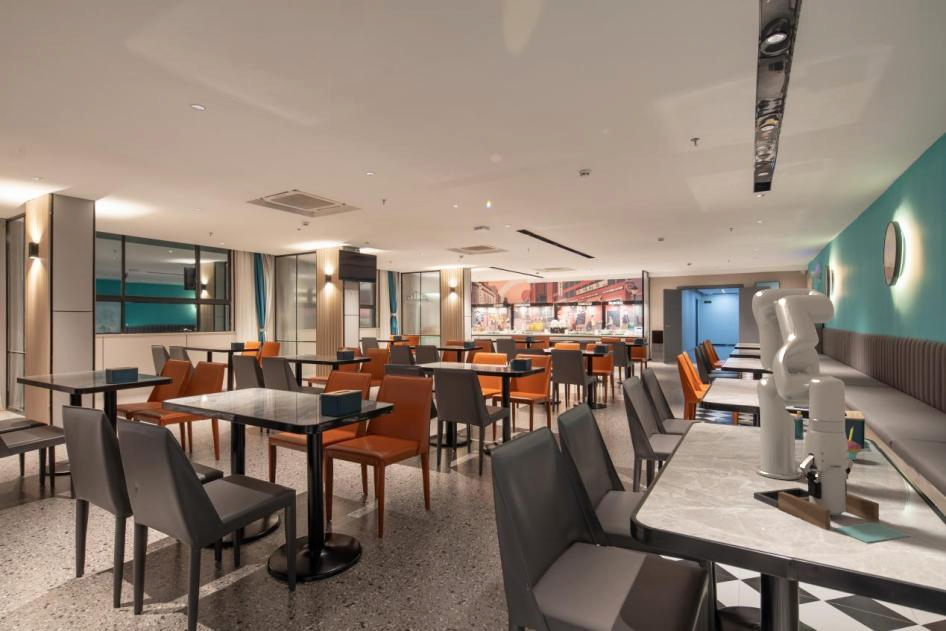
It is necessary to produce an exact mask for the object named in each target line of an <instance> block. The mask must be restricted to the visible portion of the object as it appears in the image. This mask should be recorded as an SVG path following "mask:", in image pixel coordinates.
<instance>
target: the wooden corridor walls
mask: <svg viewBox="0 0 946 631" xmlns="http://www.w3.org/2000/svg"><path fill="white" fill-rule="evenodd" d="M845 503H846V510H845V512H844V513H847V514H850V515H853V516H856V517H858V518H862V519H864V520H866V521H870V522H871V523H874V522H876V523H879V522H880V505H879V503H878V502H875V501H872V500H869V499H866V498H863V497H860V496H857V495H855V494H852V493H848V492H847V495H846V496H845ZM778 510H779V511H781V512H784V513H786V514H788V515H791V516H793V517H796V518H798V519H799V520H802V521H805V522H807V523H809V524H812V525H814V526H816V527H819V528H821V529H824V530H826V531H827V530H831V515H830V510H829V509H826V508H824V507H821V506H819V505H816V504H813V503H811V502H808V501H806V500H803V499H800V498H798V497H795V496H793V495H790V494H787V493H785V492H778Z"/></svg>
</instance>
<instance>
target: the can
mask: <svg viewBox="0 0 946 631" xmlns="http://www.w3.org/2000/svg"><path fill="white" fill-rule="evenodd" d="M841 468H842V466H840V467H836V468H834V467H829V470H828V471H827V472H824V473H822V474H821V475H822V476H821V478H820V481H819V483H821V499H817V498H815V497H812V496H809V502H811V503H813V504H816V505H819V506H821V507H824V508H826V509H829V510H830V516H831V515H832V516H840V515H842V514H843V513H846V512H845V510H846V503H845V472H844V471H843V470H842V469H841ZM814 469H817V467H814ZM816 473H817V472H814V471H813V475H814V476H816Z"/></svg>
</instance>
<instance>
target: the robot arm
mask: <svg viewBox="0 0 946 631" xmlns="http://www.w3.org/2000/svg"><path fill="white" fill-rule="evenodd" d="M751 307H752V314H753V317H754V319H755V322H756V325H757V329H758V332H759V334H758V335H759V352H760V362H761V363H760V364H761V367H762V368H763V369H764V370H765V371H768V372H772V375H771V376H770V375H769V376H764V377H762V378H760V379H759V380H758V382H757V383H756V394H757V398H758V405H759V415H760V416H759V418H760V420H759V422H760V423H759V424H760V465H756V466H755V469H754V470H755V473H757V474H759V475H761V476H763V477H766V478H767V477H768V478H771V479H778V480H786V481H787V480H789V481H791V480H792V481H793V480H798V479H801V477H802V474H803V475H804V477H805V480H807V491H808V495H809V496H812V497H815V498H817V499H821V483H819V481H820V478H821V476H822V475H821V474H822V473H824V472H827V471H828V470H829V467H834V468H836V467H840V466H842V468H841V469H842V470H843V471H844V472H845V496H846V495H847V493H848V492H847V491H848V490H847V487H848V486H847V480H849V474H851V471H852V468H853V466H854V464H855V463H854V462H855V461H852V460H851V459H850V458H849V453H848V443H847V440H848V438H847V433H846V390H845V389H846V388H845V387H846V386H845V382H844V381H843V380H842V379H840V378H835V377H834V376H833V375H831V374H827V373H821V372H820V371H821V370H820V357H819V354H818V351H817V349H816V348H815V347H816V346H817V345H818V344H819V342H820V340H819V335H818V332H817V329H816V326H815V324H827V323H829V322H830V321H831V320H832V319H833V318H834V315H835V308H834V304H833V302H832V300H831V299H830V297H828V296H827V295H826V294H825V293H822V292H820V291H819V290H816V289H813V288H807V287H806V288H803V287H802V288H767V289H762V290H759V291H757V292H756V293H754V294H753V297H752V302H751ZM786 407H795V408H796V407H799V408H803V407H804V408H808V429H807V430H806V434H805V438H804V444H803V454H802V456H803V457H802V460H801V461H798V460H796V434H795V433H796V423H795V419H794V417H793V416H792V414H791V413H790V412H789V411H788V410H787V409H786ZM814 467H817V469H814ZM798 469H800V470H801V472H802V473H801V472H800V471H799V470H798ZM813 471H814V472H817V473H816V476H814V475H813Z"/></svg>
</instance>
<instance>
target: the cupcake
mask: <svg viewBox="0 0 946 631" xmlns="http://www.w3.org/2000/svg"><path fill="white" fill-rule="evenodd" d="M853 433H854V426H852V428H850V432H849V439H847V443H848V453H849V458H850V459H851V460H855V461H856V458H857V455H858V453H860V452H862V447H861V445H860V444H858V442H856V441H854V440H852V438H853Z"/></svg>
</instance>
